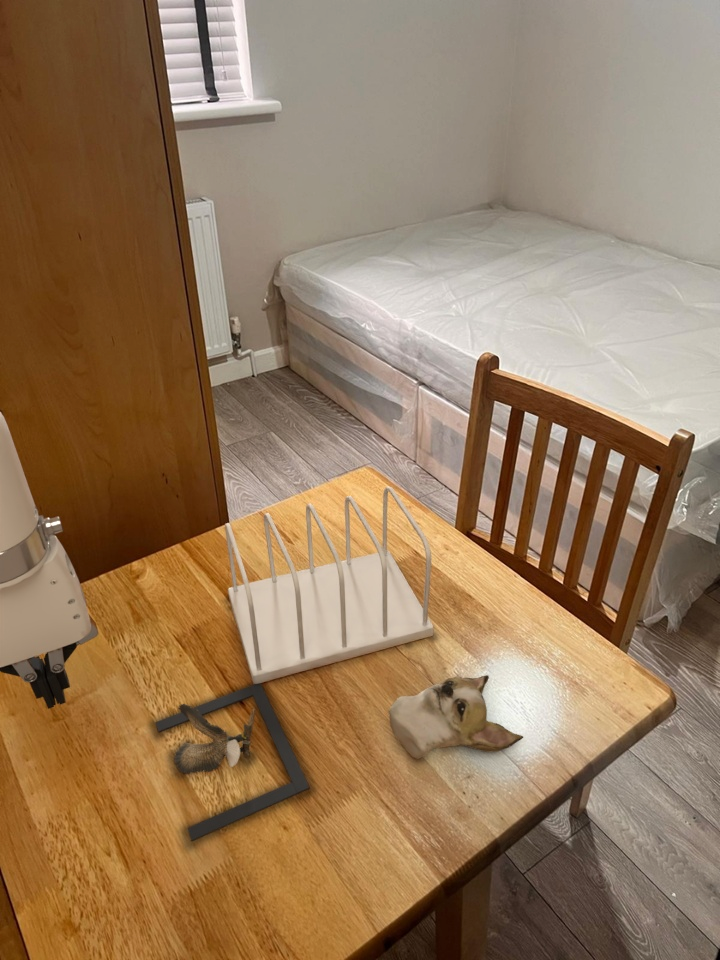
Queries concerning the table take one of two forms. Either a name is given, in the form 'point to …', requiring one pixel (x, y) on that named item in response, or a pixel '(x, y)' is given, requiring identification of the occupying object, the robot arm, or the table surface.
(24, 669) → the robot arm
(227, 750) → the eagle figurine
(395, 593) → the file sorter
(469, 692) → the ceramic sculpture
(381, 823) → the table surface
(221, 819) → the frame
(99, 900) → the table surface
